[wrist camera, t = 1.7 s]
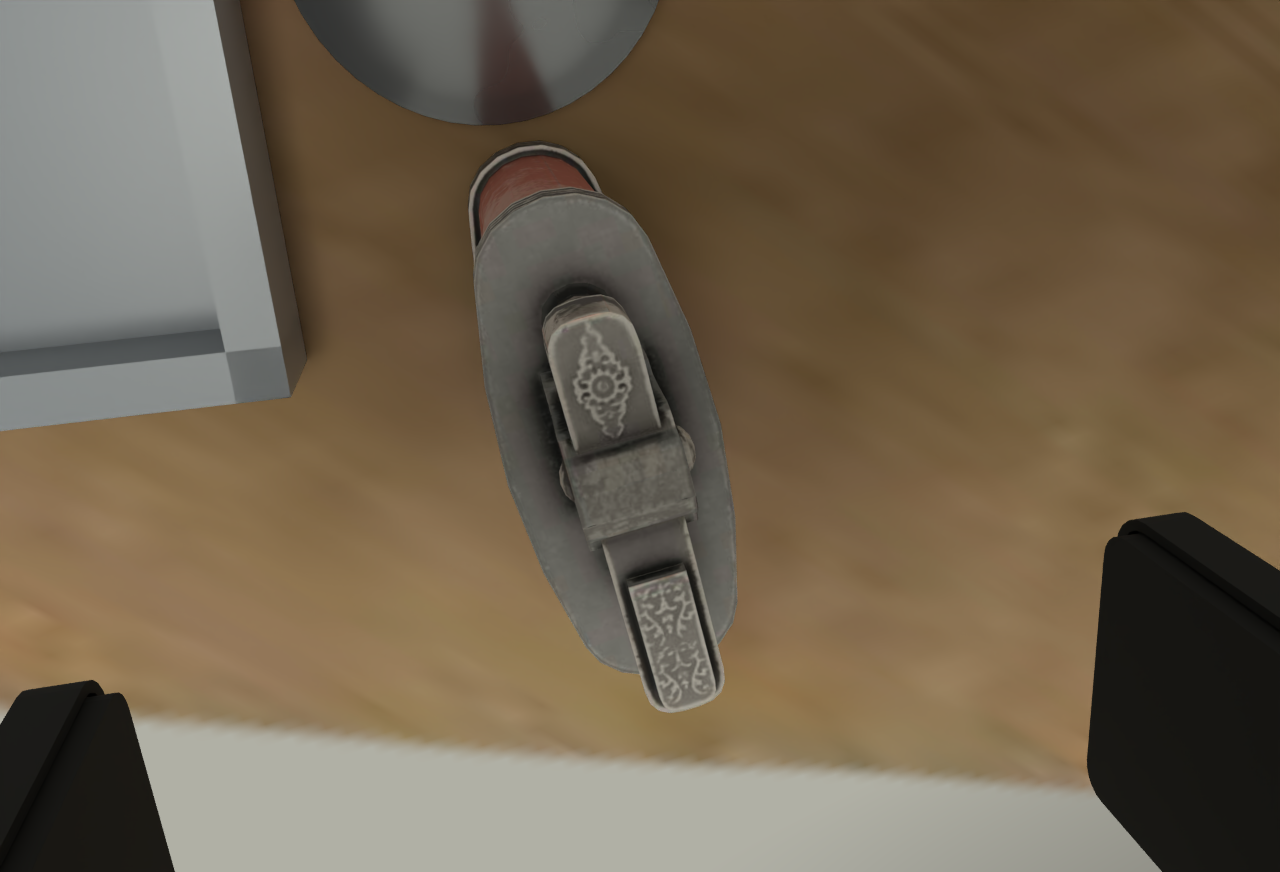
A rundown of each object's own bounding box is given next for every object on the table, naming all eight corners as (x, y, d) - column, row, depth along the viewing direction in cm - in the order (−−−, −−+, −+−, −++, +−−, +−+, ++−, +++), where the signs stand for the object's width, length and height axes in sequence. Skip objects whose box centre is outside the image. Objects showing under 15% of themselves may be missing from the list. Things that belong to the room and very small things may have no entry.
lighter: (434, 165, 22) (420, 267, 13) (597, 121, 23) (696, 191, 13) (543, 515, 25) (594, 799, 16) (686, 473, 26) (817, 729, 16)
